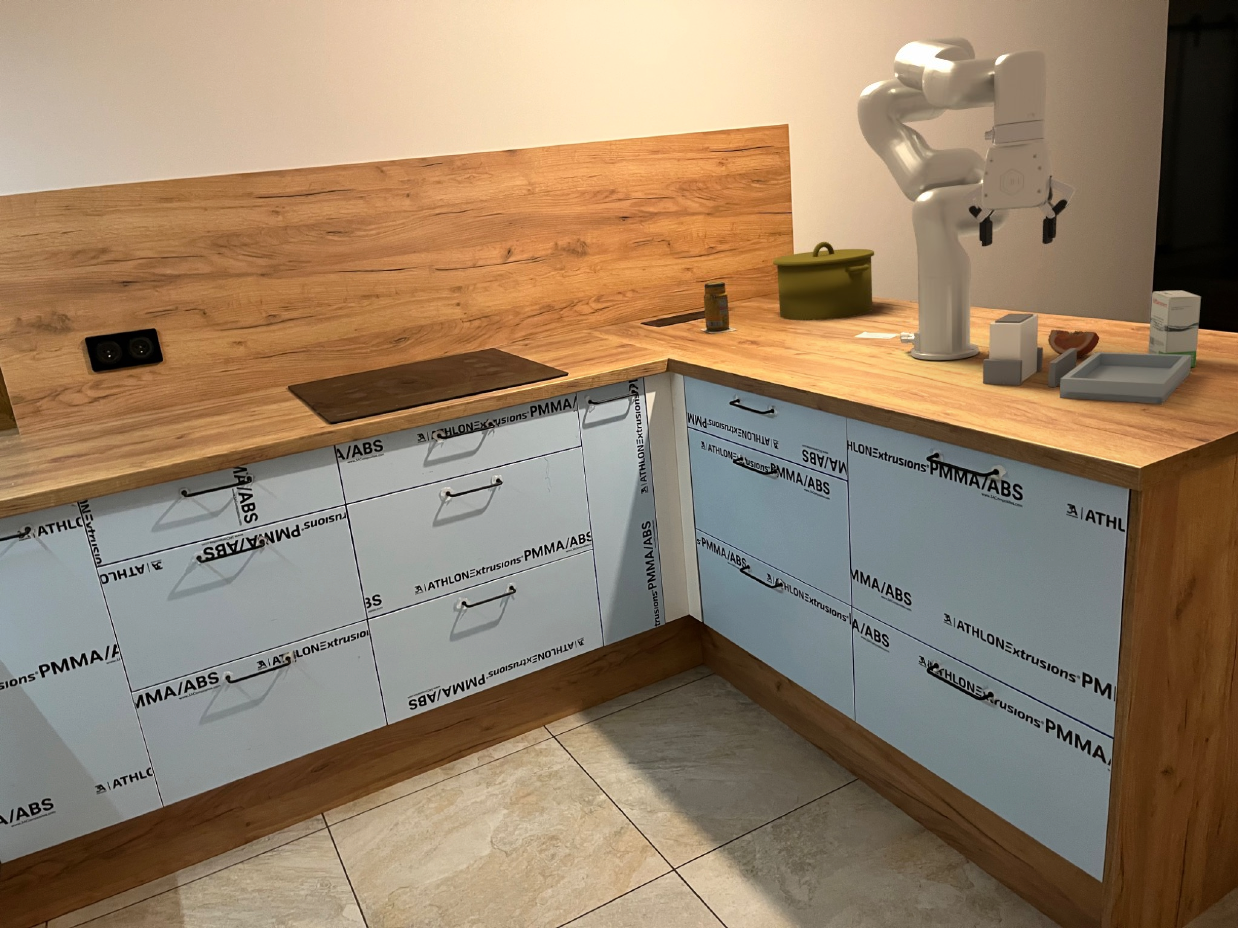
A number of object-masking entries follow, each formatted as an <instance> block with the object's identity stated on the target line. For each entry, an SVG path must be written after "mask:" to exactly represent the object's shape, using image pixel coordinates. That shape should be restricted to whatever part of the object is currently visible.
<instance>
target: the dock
mask: <svg viewBox="0 0 1238 928" xmlns="http://www.w3.org/2000/svg"><path fill="white" fill-rule="evenodd" d="M1043 351H1044V347H1043V346H1037V372H1041V371H1043V355H1044V354H1043V353H1044V352H1043ZM1077 359H1078V358H1077V348H1070V349H1068V350H1067V351H1066V352H1064V353H1063V354H1061V355H1060V354H1059V356H1057V357H1056V358H1054V359H1053V360H1051V361H1050V362H1049V363H1048V384H1047V385H1048V388H1056V387H1058V386H1060V381H1061V378H1062V377H1063V376H1065V375H1066V374H1067V373H1069V372H1070V371H1071V370H1073V369H1074V368H1075V367H1077ZM982 364H983V365H982V376H983V377H982V383H983V384H989V385H991V384H993V385H1006V386H1007V385H1008V386H1021V385H1023V384H1022V382H1023V381H1022V360H1001V359H989V358H985V359H983V362H982Z"/></svg>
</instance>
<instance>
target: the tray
mask: <svg viewBox="0 0 1238 928" xmlns="http://www.w3.org/2000/svg"><path fill="white" fill-rule="evenodd" d="M1191 368H1192V367H1191V355H1172V354H1148V353H1136V352H1112V351H1111V352H1110V351H1109V352H1108V351H1106V352H1105V351H1096V352H1094V353H1092V354H1091V355H1090V356H1088V358H1086V359H1085V360H1083V361H1082V362H1080V363H1079V364H1078V365H1076V367H1075V368H1074V369H1073V370H1071V371H1070V372H1069V373H1067V374H1066V375H1065V376H1063V377H1062V378H1061V381H1060V384H1059V386H1060V387H1059V398H1063V399H1078V400H1094V401H1095V400H1097V401H1106V402H1107V401H1109V402H1122V403H1123V402H1125V403H1141V404H1142V403H1143V404H1153V405H1154V404H1156V405H1157V404H1158V405H1162V404H1164V402H1165V401H1167V400H1168V398H1169V397H1170V396H1171V395H1172V394H1173V393H1174V392H1175V391H1176V390H1177V388H1178V387H1179V386H1180V385H1182V383H1183V382H1184V381H1185V380H1186V379H1187V377H1188V376H1189V375H1190V374H1191Z"/></svg>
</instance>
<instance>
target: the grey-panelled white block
mask: <svg viewBox="0 0 1238 928" xmlns="http://www.w3.org/2000/svg"><path fill="white" fill-rule="evenodd" d="M1038 333H1039V314H1034V313H1008V314H1006V315H1003V316H1001V317H1000V318H998V319H996V320H994V321H992V322H991V323H989V343H988V345H989V349H988V350H989V351H988V352H989V353H988V359H1001V360H1022V382H1024V381H1025V380H1027V379H1028V378H1030V377H1031V376H1032V375H1034V374H1035V373H1037V372H1038V371H1037V347H1038V337H1039V335H1038Z"/></svg>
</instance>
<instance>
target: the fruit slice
mask: <svg viewBox="0 0 1238 928" xmlns="http://www.w3.org/2000/svg"><path fill="white" fill-rule="evenodd" d="M1049 333H1050V334H1049V336H1048V340H1047V341H1048V345H1049V346H1050V347H1051V349H1052V350H1053V351H1054V352H1055V353H1056V354H1058V355H1059V356H1060V355H1061V354H1063V353H1064V352H1066V351H1067V350H1068V349H1070V348H1077V359H1078V358H1083V357H1085V356H1087V355H1088V354H1090V353H1092V351H1093V350H1095V348H1096V347H1097V345H1098V343H1099V341H1100V336H1099V335H1098V333H1096V332H1094V331H1082V330H1077V331H1076V330H1075V331H1074V332H1072V331H1068V330H1061V329H1051V330H1050V332H1049Z"/></svg>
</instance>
